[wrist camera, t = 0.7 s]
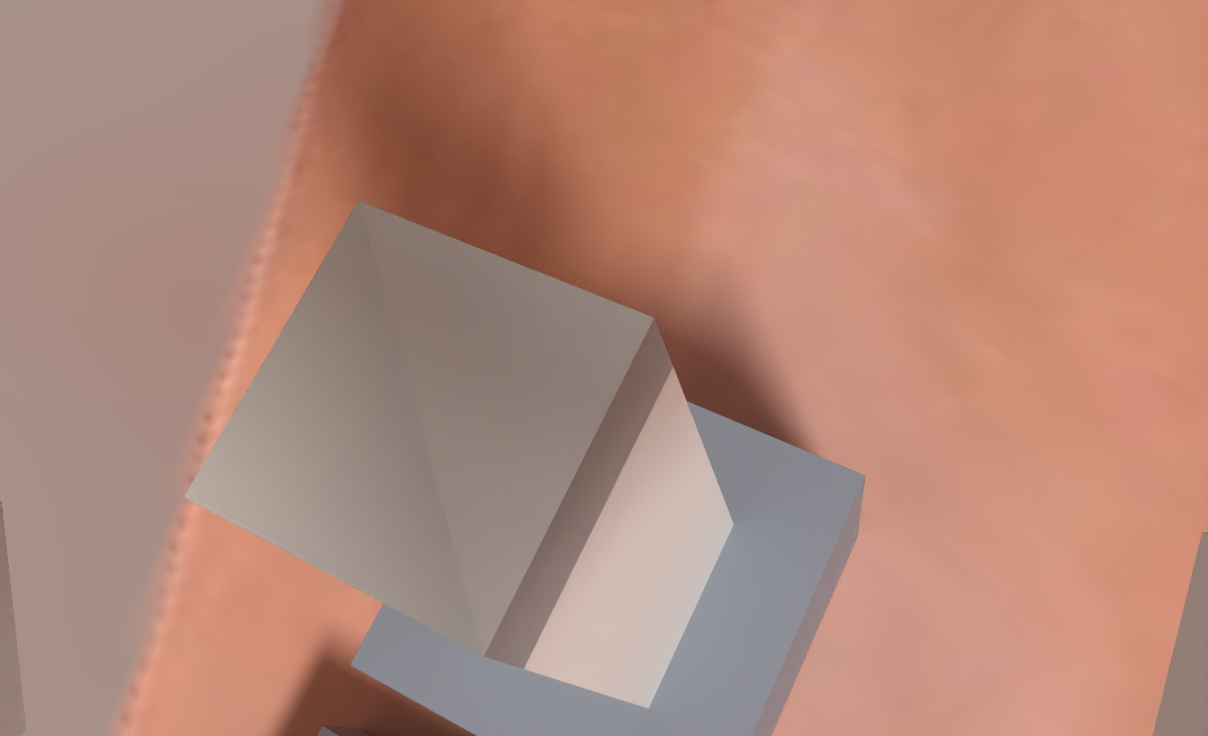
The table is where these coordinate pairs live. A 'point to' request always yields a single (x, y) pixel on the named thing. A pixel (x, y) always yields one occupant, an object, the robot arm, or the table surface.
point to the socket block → (341, 731)
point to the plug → (480, 457)
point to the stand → (713, 634)
